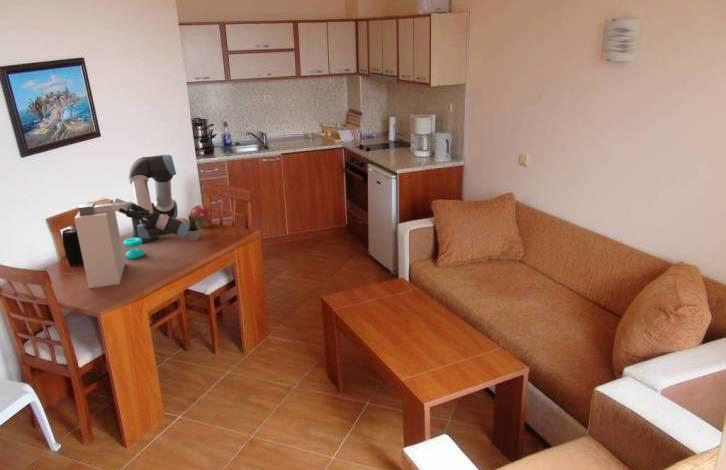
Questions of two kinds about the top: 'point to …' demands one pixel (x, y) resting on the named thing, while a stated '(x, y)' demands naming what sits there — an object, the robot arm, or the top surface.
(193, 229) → the house plant
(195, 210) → the decorative mushroom
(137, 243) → the donuts
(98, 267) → the tall cream pillar block
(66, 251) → the portable speaker
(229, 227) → the top surface
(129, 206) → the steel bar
